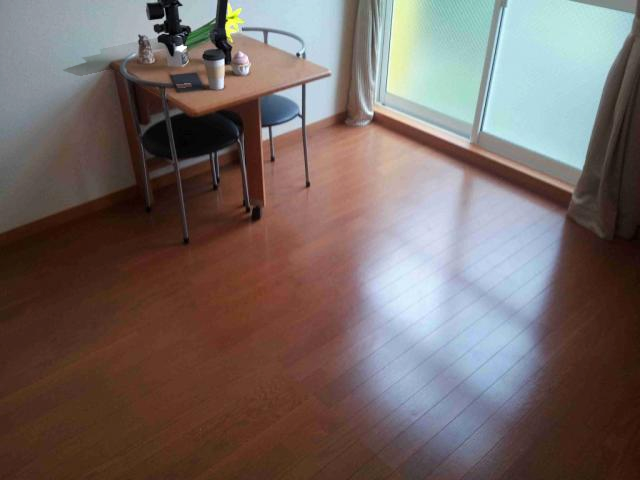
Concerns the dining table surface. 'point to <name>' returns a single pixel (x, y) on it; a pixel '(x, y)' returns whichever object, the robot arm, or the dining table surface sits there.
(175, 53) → the medicine bottle
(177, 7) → the robot arm
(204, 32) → the daffodil flowers
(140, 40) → the figurine
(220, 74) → the coffee cup
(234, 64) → the cupcake
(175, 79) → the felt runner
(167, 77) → the dining table surface
